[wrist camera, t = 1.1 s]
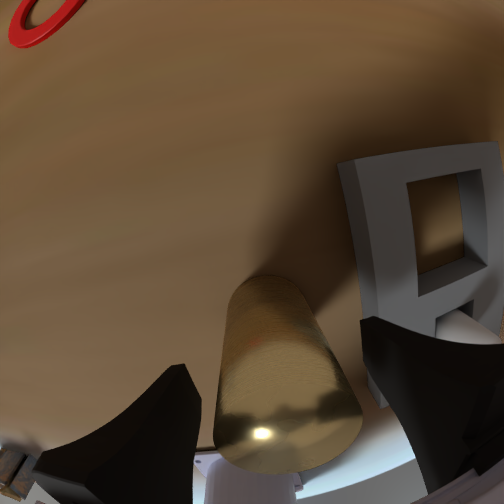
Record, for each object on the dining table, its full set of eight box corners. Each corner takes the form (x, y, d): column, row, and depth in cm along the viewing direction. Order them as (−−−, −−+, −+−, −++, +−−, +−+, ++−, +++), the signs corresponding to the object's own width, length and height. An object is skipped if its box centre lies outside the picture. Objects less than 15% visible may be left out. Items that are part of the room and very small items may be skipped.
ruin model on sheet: (29, 450, 20) (2, 494, 11) (44, 464, 21) (19, 509, 11) (0, 444, 21) (-24, 479, 11) (12, 458, 22) (-10, 492, 12)
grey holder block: (479, 333, 17) (523, 367, 11) (367, 387, 17) (400, 445, 11) (473, 143, 14) (536, 138, 8) (336, 163, 14) (392, 150, 8)
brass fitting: (311, 335, 16) (363, 453, 7) (239, 353, 16) (238, 482, 7) (297, 266, 15) (360, 362, 6) (217, 286, 15) (189, 402, 6)
